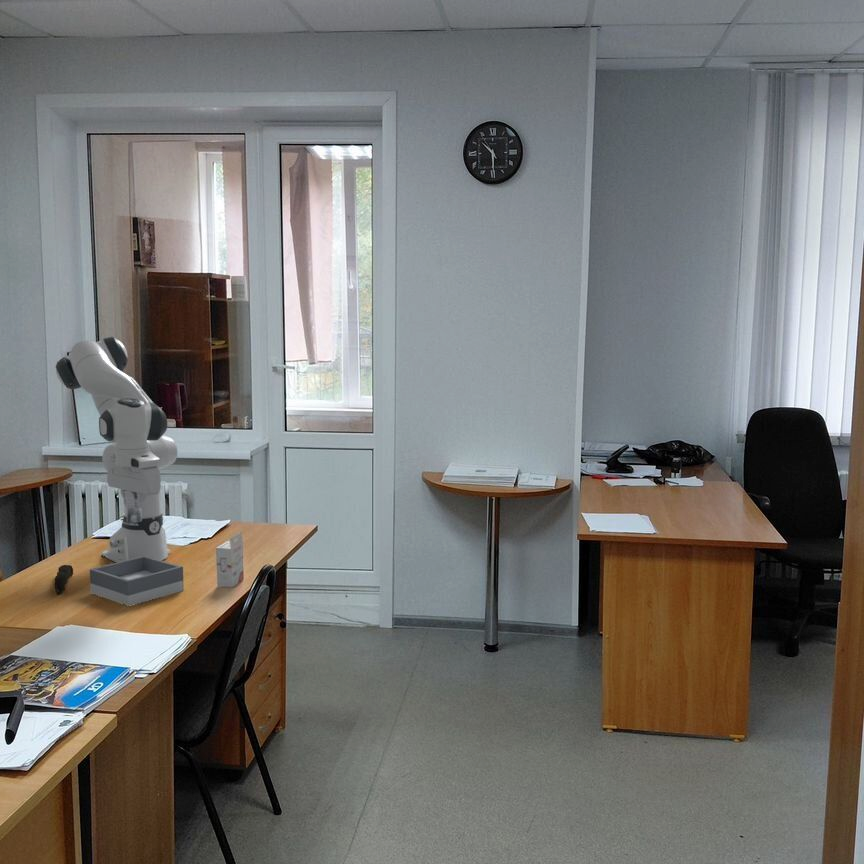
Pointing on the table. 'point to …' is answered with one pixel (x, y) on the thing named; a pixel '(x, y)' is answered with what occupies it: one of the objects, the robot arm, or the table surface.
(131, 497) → the peg
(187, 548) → the table surface
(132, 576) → the open gray box
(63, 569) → the hand tool
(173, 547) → the table surface
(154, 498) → the robot arm
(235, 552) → the ink cartridge box
